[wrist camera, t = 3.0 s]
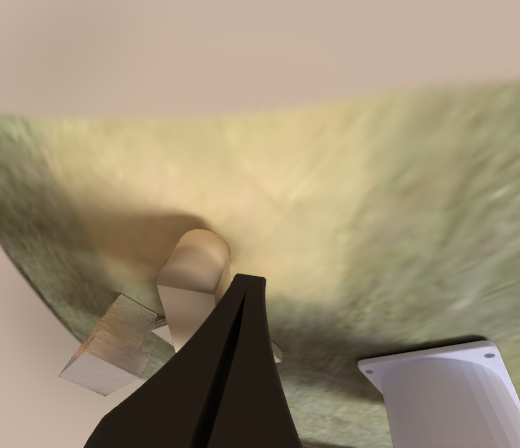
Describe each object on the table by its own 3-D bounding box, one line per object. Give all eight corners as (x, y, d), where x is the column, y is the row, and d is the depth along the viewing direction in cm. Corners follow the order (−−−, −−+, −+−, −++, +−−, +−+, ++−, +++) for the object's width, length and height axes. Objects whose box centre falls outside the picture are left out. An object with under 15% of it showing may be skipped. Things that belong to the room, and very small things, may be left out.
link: (235, 364, 20) (227, 401, 18) (195, 356, 20) (182, 392, 18) (237, 234, 12) (222, 276, 10) (170, 224, 12) (142, 262, 10)
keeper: (179, 297, 17) (139, 378, 13) (146, 323, 20) (105, 396, 16) (140, 273, 16) (84, 351, 12) (111, 303, 19) (58, 376, 15)
